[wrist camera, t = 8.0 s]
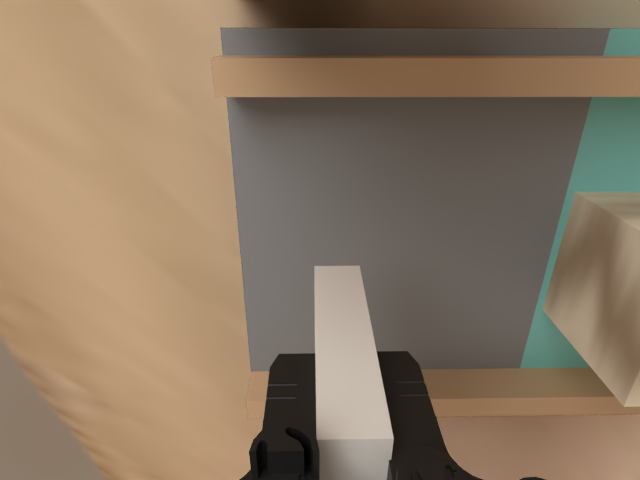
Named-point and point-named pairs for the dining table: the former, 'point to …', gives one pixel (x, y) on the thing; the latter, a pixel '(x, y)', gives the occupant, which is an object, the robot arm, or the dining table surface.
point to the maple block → (601, 288)
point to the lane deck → (428, 194)
